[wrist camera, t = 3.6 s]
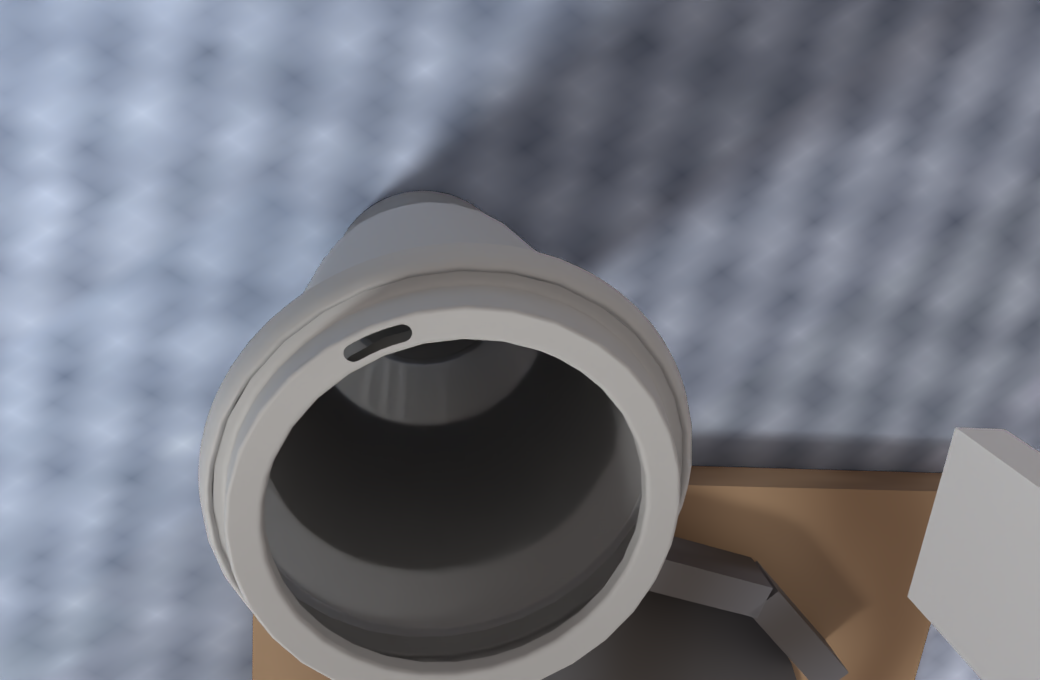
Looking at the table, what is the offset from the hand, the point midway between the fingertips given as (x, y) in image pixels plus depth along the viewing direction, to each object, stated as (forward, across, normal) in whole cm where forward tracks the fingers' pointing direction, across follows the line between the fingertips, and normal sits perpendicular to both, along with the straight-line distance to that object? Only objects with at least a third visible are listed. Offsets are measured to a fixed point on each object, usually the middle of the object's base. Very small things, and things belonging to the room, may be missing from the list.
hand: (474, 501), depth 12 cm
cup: (+12, 0, 0) cm, 12 cm away
